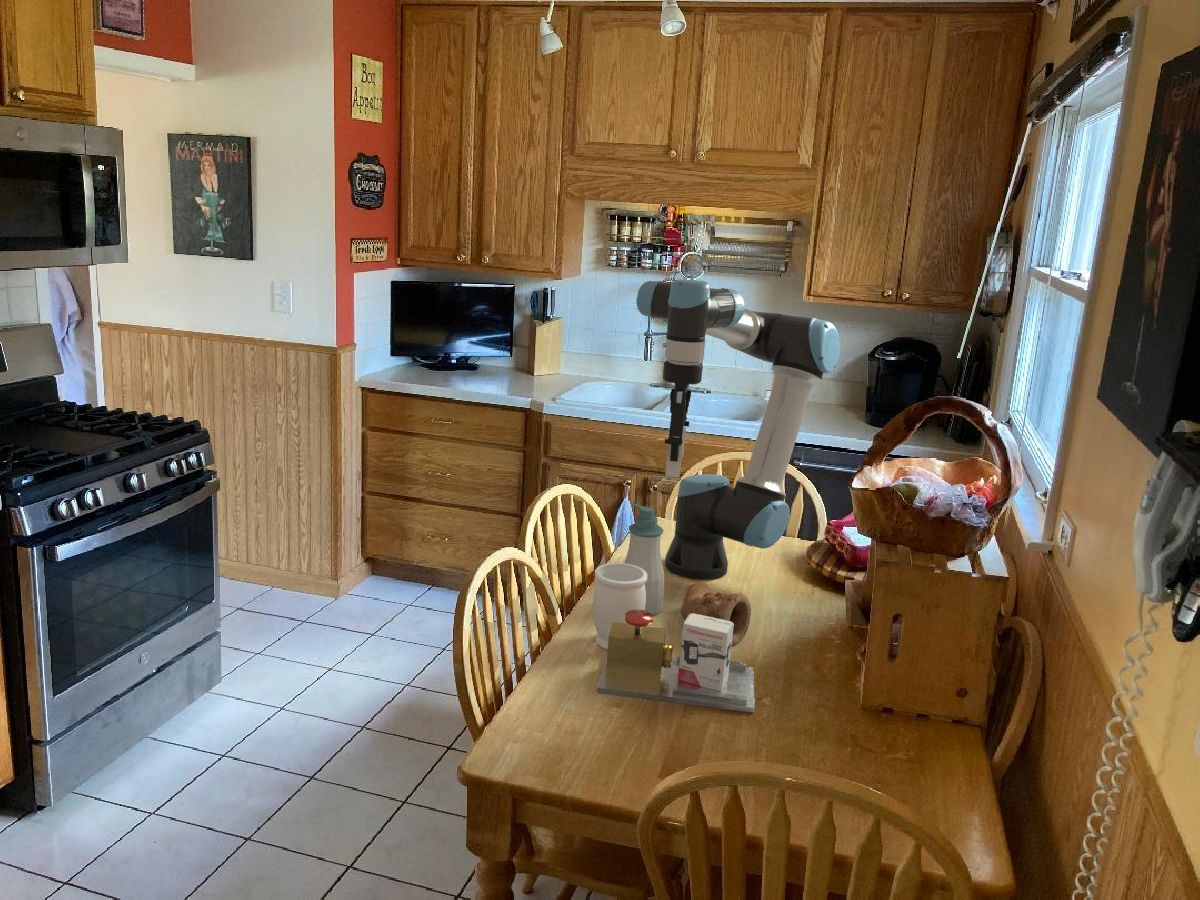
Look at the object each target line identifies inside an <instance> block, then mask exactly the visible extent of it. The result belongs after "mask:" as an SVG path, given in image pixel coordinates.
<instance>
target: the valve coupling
mask: <svg viewBox="0 0 1200 900" xmlns="http://www.w3.org/2000/svg"><path fill="white" fill-rule="evenodd" d="M653 618H654V616H653V615H652V614H651V613H650V612H647V611H644V610H630V611H628V612H626V614H625V621H626V622H627V623H628V624H623V623H615V622H613V623H612V627H611V630H610V633H609V638H608V650H606V651H607V652H606V655H605V658H604V662H603V665H602V669H601V671H600V672H601V673H600V676H599V679H598V681H597V686H596V693H597V694H604V695H605V694H606V695H614V696H619V697H620V696H621V697H629V698H635V699H636V698H637V699H643V700H645V699H646V700H652V701H659V702H666V703H667V702H668V703H674V704H675V703H676V704H683V705H692V706H697V707H698V706H699V707H706V708H713V709H721V710H728V711H729V710H730V711H736V712H744V713H745V712H746V713H752V714H754V713H755V709H756V708H755V703H756V702H755V681H754V680H755V679H754V678H755V677H754V675H755V674H754V667H753V666H747V663H746V662H742V661H735V660H734V661H731V660H730V664H729V673H728V681H727V682H726V684H725V686H724V688H723V690H722V691H718V690H714V689H710V688H706V687H702V686H698V685H694V684H690V683H686V682H682V681H678V671H679V661H680V654H677V657H673V651H674V644H672V643H666V633H667V628H666V627H664V628H663V627H654V626H650V625H652V623H653V620H654V619H653Z"/></svg>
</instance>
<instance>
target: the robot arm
mask: <svg viewBox="0 0 1200 900" xmlns="http://www.w3.org/2000/svg"><path fill="white" fill-rule="evenodd" d="M636 307H637V311H638V312H639V313H640V314H641V315H642V316H645V317H649V318H652V319H659V320H664V321H666V323H667V325H666V328H667V329H666V336H665V342H662V344H661V347H662V348H664V349H665V350H664V358H665V359H666V360H665V361H664V362H663V371H662V379H663V380H664V381H665V382H667V383H670V384H674V388H671V390H670V394H669V400H670V404H669V405H670V406H669V412H670V422H669V423H670V424H669V434H668V438H665V439H664V445H665V444H666V445H667V451H666V452H667V453H666V463H665V464H666V465H665V466H666V467H665V477H669V478H671V477H672V478H680V475H681V464H682V459H683V460H684V453H685V441H686V430H687V429H686V427H690V421H688V417H687V414H688V411H689V406H690V403H691V398H692V390H690V389H689V386H690V385H698V384H700V383H701V382H702V379H703V377H702V376H703V366H704V365H703V364H702V362H703V361H704V359H705V349H706V348H705V346H706V336H710V337H713V338H715V339H718V340H721V341H724V342H725V343H726V345H727V346H729V347H730V348H731V349H733V350H737V351H739V352H741V353H743V354H746V355H748V356H751V357H753V358H756V359H757V360H761V361H763V362H766V363H772V366H771V370H772V371H773V374H774V375H775V376H774V377H775V379H774V381H773V384H772V388H771V391H770V395H769V398H768V401H767V404H766V407H765V411H764V415H763V417H762V420H761V423H760V426H759V431H758V434H757V436H756V440H755V444H754V446H753V450H752V453H751V455H750V460H749V463H748V466H747V469H746V472H745V475H744V476H742V477H740V478H738V479H737V480H736V483H735V486H734V487H731V486H730V484H731V482H730V479H729V478H728V477H727V476H724V475H720V474H712V473H710V474H709V473H707V474H701V473H700V474H694V475H689V476H685V477H684V478H683V479H681V481H680V482H679V486H678V493H677V495H676V496H677V502H676V517H675V526H674V527H675V529H674V536H673V538H672V540H671V543H670V545H669V547H668V550H667V551H666V554H665V559H664V567H665V569H666V570H667V571H668V572H669V573H671V574H673V575H674V576H678V577H681V578H685V579H689V580H698V581H709V580H711V581H712V580H716V579H719V578H723V577H724V576H725V575H727V573H728V566H729V564H728V563H729V562H728V558H727V553H726V548H725V544H724V538H726V539H729V540H732V541H735V542H738V543H741V544H744V545H746V546H748V547H755V548H759V549H768V548H771V547H773V546H774V545H775V544H776V543H777V542H779V540H780V539H781V538H782V536H783V535H784V533H785V532H786V529H787V527H788V525H789V521H790V518H791V517H790V513H791V511H790V510H791V509H790V507H789V504H788V503H786V501H785V499H786V496H787V494H786V493H785V491H784V488H783V483H784V480H785V477H786V473H787V470H788V467H789V463H790V460H791V457H792V454H793V450H794V447H795V444H796V441H797V438H798V434H799V431H800V428H801V424H802V421H803V419H804V414H805V412H806V408H807V404H808V402H809V398H810V396H811V393H812V388H813V387H815V386H816V385H818V384H820V383H821V382H822V379H823V376H824V374H830V373H832V372H833V371H834V369H835V368H836V367H837V364H838V361H839V359H840V352H841V346H840V345H841V343H840V336H839V332H838V330H837V328H836V326H835V325H834V324H833V323H832V322H829V321H828V320H823V319H818V318H816V317H805V316H798V315H790V314H783V313H778V312H762V311H756V310H755V311H754V310H753V311H752V310H750V309H747V308H745V307H746V306H745V300H744V298H743V297H742V295H741V294H740V293H739V292H738V291H737V290H735V289H731V288H724V287H722V288H711V287H710V285H709V282H706V281H704V280H695V279H676V280H674V281H672V282H666V281H665V282H664V281H661V280H648V281H645V282H643V283H642V284H641V285H640V287H639V288H638V291H637V295H636Z"/></svg>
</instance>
